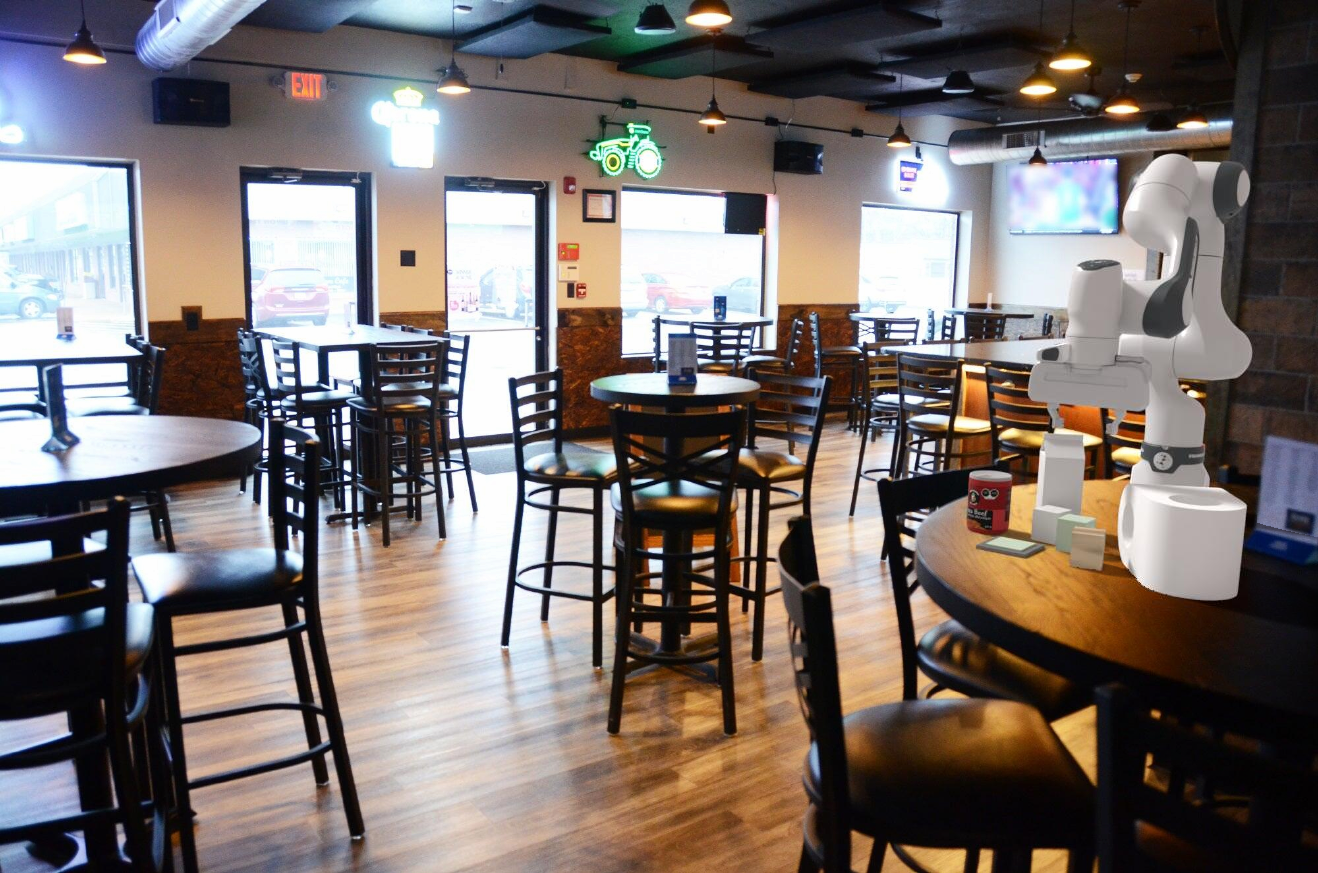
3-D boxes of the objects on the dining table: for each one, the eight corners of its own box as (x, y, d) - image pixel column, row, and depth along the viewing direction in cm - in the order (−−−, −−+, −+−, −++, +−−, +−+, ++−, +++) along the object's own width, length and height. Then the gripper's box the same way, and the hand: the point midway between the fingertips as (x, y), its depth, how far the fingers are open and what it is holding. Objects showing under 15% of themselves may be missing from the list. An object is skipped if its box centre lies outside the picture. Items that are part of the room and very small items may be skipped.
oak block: (1072, 559, 183) (1075, 526, 182) (1103, 563, 181) (1106, 529, 180) (1069, 566, 179) (1072, 532, 178) (1100, 570, 177) (1103, 536, 176)
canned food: (957, 526, 205) (961, 471, 203) (990, 523, 208) (993, 469, 206) (984, 536, 198) (987, 479, 196) (1017, 532, 201) (1021, 476, 199)
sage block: (1065, 545, 193) (1068, 513, 192) (1093, 550, 189) (1096, 518, 188) (1055, 550, 189) (1057, 518, 188) (1083, 556, 186) (1086, 523, 185)
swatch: (997, 539, 196) (997, 534, 196) (1044, 548, 190) (1044, 543, 190) (976, 548, 189) (976, 543, 189) (1024, 557, 184) (1024, 553, 183)
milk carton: (1079, 536, 199) (1087, 437, 196) (1039, 533, 200) (1047, 436, 197) (1072, 527, 206) (1079, 432, 203) (1034, 524, 207) (1041, 430, 204)
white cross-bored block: (1250, 603, 160) (1201, 559, 184) (1260, 513, 158) (1209, 480, 182) (1151, 597, 163) (1115, 554, 187) (1159, 507, 161) (1121, 476, 185)
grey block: (1045, 535, 199) (1048, 504, 198) (1069, 541, 196) (1072, 509, 195) (1030, 539, 196) (1033, 508, 195) (1055, 545, 193) (1057, 513, 192)
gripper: (1159, 356, 179) (1151, 436, 181) (1041, 348, 192) (1035, 423, 194) (1147, 358, 174) (1139, 440, 176) (1027, 350, 188) (1021, 426, 190)
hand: (1084, 431), depth 185 cm, fingers open, 8 cm apart
